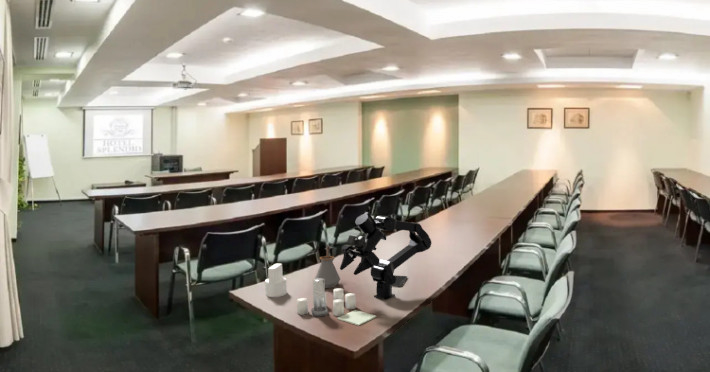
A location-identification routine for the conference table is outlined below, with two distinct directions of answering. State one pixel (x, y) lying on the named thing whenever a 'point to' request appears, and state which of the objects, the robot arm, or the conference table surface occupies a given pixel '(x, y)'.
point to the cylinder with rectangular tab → (275, 282)
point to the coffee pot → (328, 271)
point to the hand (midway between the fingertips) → (347, 271)
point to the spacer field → (337, 303)
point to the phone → (399, 280)
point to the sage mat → (356, 317)
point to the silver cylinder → (319, 298)
